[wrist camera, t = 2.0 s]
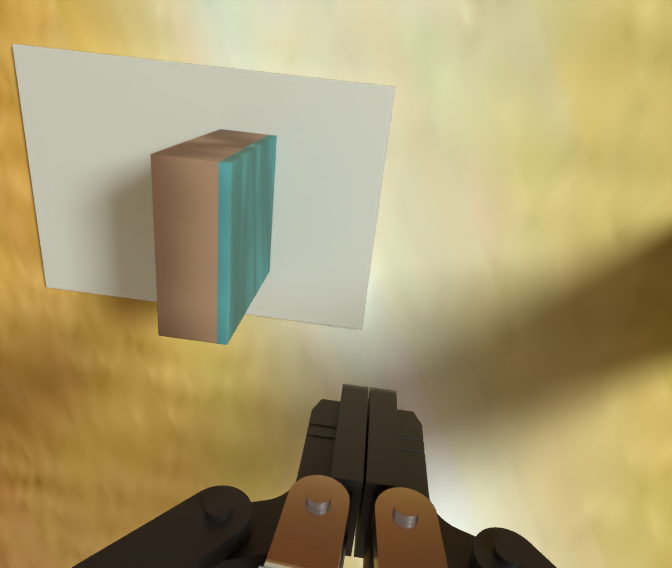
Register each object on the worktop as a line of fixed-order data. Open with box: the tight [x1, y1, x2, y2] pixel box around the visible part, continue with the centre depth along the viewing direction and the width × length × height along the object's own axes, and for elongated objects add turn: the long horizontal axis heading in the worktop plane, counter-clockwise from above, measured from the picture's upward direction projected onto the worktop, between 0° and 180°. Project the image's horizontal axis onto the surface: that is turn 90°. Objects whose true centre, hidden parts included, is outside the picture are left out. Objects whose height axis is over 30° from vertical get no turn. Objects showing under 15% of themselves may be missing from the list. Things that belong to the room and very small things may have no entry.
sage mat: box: [12, 44, 395, 330], centre depth 33 cm, size 23×16×1 cm
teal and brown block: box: [150, 129, 277, 345], centre depth 28 cm, size 4×9×10 cm, turn 174°
